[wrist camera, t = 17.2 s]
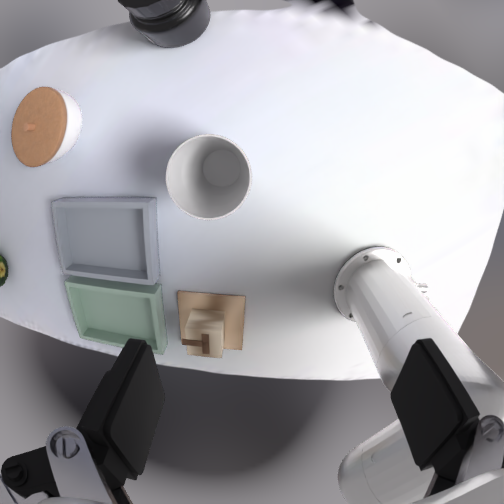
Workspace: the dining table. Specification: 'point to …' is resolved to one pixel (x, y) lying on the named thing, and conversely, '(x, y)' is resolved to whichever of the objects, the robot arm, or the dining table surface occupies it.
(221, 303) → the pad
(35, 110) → the lidded jar
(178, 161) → the cup
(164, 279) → the dining table surface
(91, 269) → the slate tray
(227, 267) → the dining table surface
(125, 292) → the green tray
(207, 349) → the letter cube
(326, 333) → the dining table surface
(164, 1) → the ink bottle
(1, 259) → the vegetable
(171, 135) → the dining table surface
